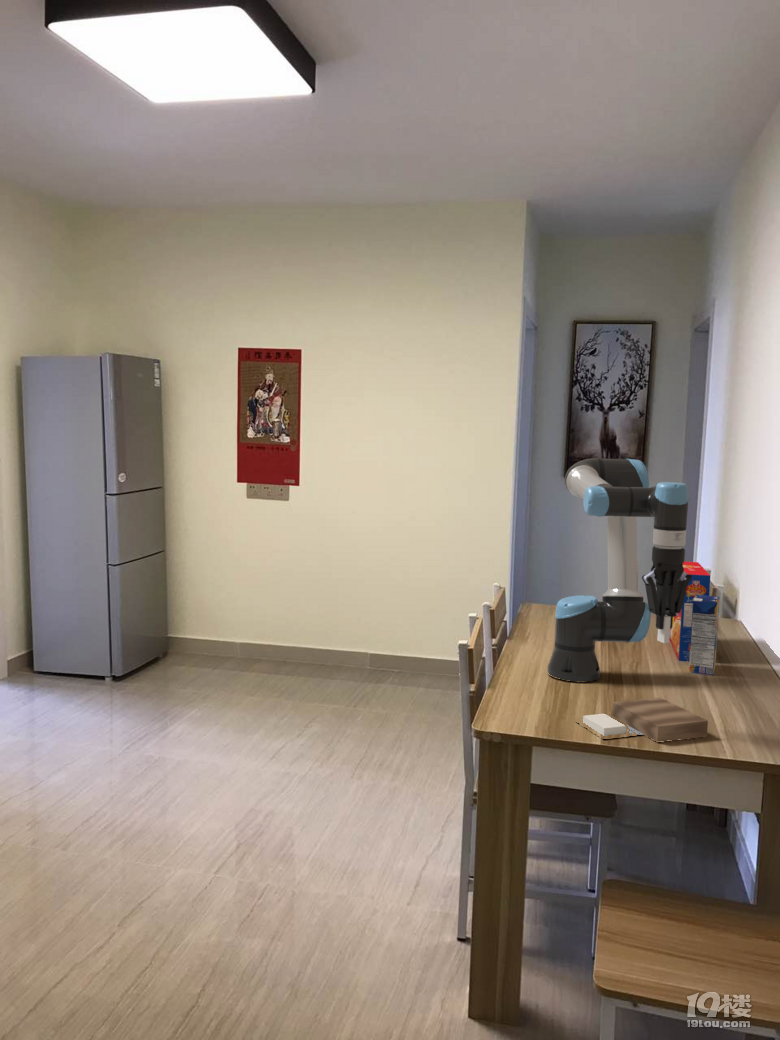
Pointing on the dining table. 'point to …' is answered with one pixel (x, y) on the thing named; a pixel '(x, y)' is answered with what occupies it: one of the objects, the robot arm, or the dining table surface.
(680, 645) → the red blue cereal box
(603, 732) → the white rectangular block
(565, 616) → the robot arm
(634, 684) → the dining table surface
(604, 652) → the dining table surface
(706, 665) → the beverage box
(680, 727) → the brown wooden slab
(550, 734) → the dining table surface
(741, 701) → the dining table surface
